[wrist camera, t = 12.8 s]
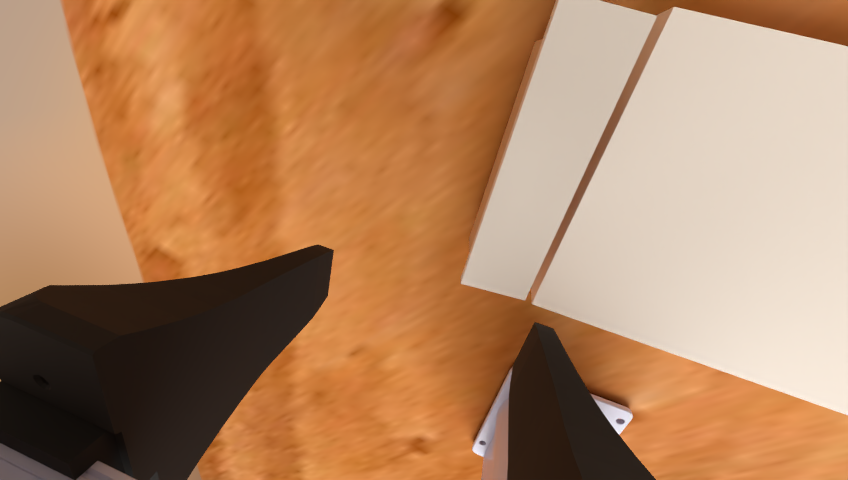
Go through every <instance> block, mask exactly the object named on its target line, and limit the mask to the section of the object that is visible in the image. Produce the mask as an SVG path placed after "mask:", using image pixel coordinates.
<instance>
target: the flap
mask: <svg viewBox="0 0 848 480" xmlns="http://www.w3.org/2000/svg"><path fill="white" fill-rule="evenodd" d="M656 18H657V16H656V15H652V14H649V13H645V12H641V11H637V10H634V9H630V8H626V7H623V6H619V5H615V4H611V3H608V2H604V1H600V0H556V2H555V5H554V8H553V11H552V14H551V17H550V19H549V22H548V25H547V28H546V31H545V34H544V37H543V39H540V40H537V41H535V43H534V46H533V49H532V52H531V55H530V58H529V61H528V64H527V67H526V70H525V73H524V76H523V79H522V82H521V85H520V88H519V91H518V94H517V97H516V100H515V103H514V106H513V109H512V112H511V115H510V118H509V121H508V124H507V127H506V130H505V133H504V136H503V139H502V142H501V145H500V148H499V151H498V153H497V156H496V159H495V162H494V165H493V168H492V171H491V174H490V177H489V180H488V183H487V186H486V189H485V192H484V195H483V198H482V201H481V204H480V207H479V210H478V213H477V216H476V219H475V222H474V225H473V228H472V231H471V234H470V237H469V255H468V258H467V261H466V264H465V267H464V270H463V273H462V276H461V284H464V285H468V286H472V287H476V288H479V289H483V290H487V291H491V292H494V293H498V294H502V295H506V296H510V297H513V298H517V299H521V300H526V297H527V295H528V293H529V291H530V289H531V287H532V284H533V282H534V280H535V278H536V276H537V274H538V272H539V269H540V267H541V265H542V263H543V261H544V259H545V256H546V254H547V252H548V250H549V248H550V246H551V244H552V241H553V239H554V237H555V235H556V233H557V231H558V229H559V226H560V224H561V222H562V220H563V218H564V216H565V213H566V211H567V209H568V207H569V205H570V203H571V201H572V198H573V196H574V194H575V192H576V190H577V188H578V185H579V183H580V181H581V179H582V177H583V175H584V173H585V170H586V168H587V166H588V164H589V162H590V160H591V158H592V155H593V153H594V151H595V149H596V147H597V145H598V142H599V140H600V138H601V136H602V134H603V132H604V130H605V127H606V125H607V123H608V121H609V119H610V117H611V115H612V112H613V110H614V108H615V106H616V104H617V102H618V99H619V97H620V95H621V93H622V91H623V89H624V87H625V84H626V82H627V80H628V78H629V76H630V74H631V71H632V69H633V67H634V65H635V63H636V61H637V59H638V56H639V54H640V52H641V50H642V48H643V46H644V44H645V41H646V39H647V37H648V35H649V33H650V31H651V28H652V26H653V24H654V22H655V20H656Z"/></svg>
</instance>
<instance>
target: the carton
mask: <svg viewBox="0 0 848 480" xmlns="http://www.w3.org/2000/svg"><path fill="white" fill-rule="evenodd" d="M656 16H657V18H656V20H655V22H654V24H653V26H652V28H651V31H650V33H649V35H648V37H647V39H646V41H645V44H644V46H643V48H642V50H641V52H640V54H639V56H638V59H637V61H636V63H635V65H634V67H633V69H632V71H631V74H630V76H629V78H628V80H627V82H626V84H625V87H624V89H623V91H622V93H621V95H620V97H619V99H618V102H617V104H616V106H615V108H614V110H613V112H612V115H611V117H610V119H609V121H608V123H607V125H606V127H605V130H604V132H603V134H602V136H601V138H600V140H599V142H598V145H597V147H596V149H595V151H594V153H593V155H592V158H591V160H590V162H589V164H588V166H587V168H586V170H585V173H584V175H583V177H582V179H581V181H580V183H579V185H578V188H577V190H576V192H575V194H574V196H573V198H572V201H571V203H570V205H569V207H568V209H567V211H566V213H565V216H564V218H563V220H562V222H561V224H560V226H559V229H558V231H557V233H556V235H555V237H554V239H553V241H552V244H551V246H550V248H549V250H548V252H547V254H546V256H545V259H544V261H543V263H542V265H541V267H540V269H539V272H538V274H537V276H536V278H535V280H534V282H533V284H532V287H531V299H532V304H533V305H536V306H538V307H541V308H544V309H547V310H550V311H553V312H555V313H558V314H561V315H564V316H567V317H570V318H573V319H575V320H578V321H581V322H584V323H587V324H590V325H592V326H595V327H598V328H601V329H604V330H607V331H609V332H612V333H615V334H618V335H621V336H624V337H627V338H629V339H632V340H635V341H638V342H641V343H644V344H646V345H649V346H652V347H655V348H658V349H661V350H664V351H666V352H669V353H672V354H675V355H678V356H681V357H683V358H686V359H689V360H692V361H695V362H698V363H701V364H703V365H706V366H709V367H712V368H715V369H718V370H720V371H723V372H726V373H729V374H732V375H735V376H738V377H740V378H743V379H746V380H749V381H752V382H755V383H757V384H760V385H763V386H766V387H769V388H772V389H775V390H777V391H780V392H783V393H786V394H789V395H792V396H794V397H797V398H800V399H803V400H806V401H809V402H812V403H814V404H817V405H820V406H823V407H826V408H829V409H831V410H834V411H837V412H840V413H843V414H846V415H848V46H844V45H840V44H836V43H831V42H827V41H822V40H818V39H814V38H809V37H805V36H800V35H796V34H792V33H787V32H783V31H779V30H774V29H770V28H765V27H761V26H757V25H752V24H748V23H744V22H739V21H735V20H730V19H726V18H722V17H717V16H713V15H708V14H704V13H700V12H695V11H691V10H687V9H682V8H678V7H672V8H670V9H668V10H666V11H664V12H662V13H660V14H658V15H656Z"/></svg>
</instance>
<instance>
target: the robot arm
mask: <svg viewBox="0 0 848 480" xmlns="http://www.w3.org/2000/svg"><path fill="white" fill-rule="evenodd" d="M333 251H334V250H332V249H329V248H326V247H323V246H321V245H314V246H311V247H307V248H304V249H301V250H298V251H294V252H291V253H288V254H285V255H282V256H279V257H275V258H272V259H269V260H266V261H262V262H259V263H255V264H251V265H247V266H244V267H240V268H236V269H232V270H228V271H223V272H219V273H214V274H208V275H203V276H197V277H191V278H183V279H175V280H167V281H159V282H148V283H136V284H119V285H69V286H68V285H65V286H64V285H63V286H62V285H49V286H47V287H44V288H42V289H40V290H37V291H35V292H33V293H31V294H29V295H26V296H24V297H22V298H20V299H17V300H15V301H13V302H10V303H8V304H6V305H4V306H1V307H0V379H1V382H0V480H187V479H188V477H189V475H190V474H191V472H192V471H193V469H194V468H195V466H196V465H197V463H198V462H199V460H200V459H201V457H202V456H203V454H204V453H205V451H206V450H207V448H208V447H209V446H210V444H211V443H212V441H213V440H214V438H215V437H216V435H217V434H218V432H219V431H220V429H221V428H222V427H223V425H224V424H225V422H226V421H227V420H228V418H229V417H230V415H231V414H232V413H233V411H234V410H235V409H236V407H237V406H238V404H239V403H240V402H241V400H242V399H243V398H244V396H245V395H246V394H247V392H248V391H249V390H250V388H251V387H252V386H253V384H254V383H255V382H256V380H257V379H258V378H259V376H260V375H261V374H262V373H263V372H264V370H265V369H266V368H267V367H268V366H269V365H270V363H271V362H272V361H273V360H274V359H275V358H276V357H277V356H278V355H279V354H280V353H281V352H282V351H283V350H284V348H285V347H286V346H287V345H288V344H289V343H290V342H291V341H292V340H293V339H294V338H295V337H296V336H297V334H298V333H299V332H300V331H301V330H302V329H303V328H304V327H305V326H306V325H307V324H308V322H309V321H310V320H311V319H312V318H313V316H314V315H315V314H316V312H317V311H318V310H319V308H320V307H321V305H322V304H323V302H324V301H325V299H326V298H327V296H328V289H329V282H330V274H331V267H332V259H333ZM632 418H633V415H632V412H631V410H630V409H629V408H627V407H625V406H622V405H620V404H617V403H614V402H612V401H609V400H606V399H604V398H601V397H598V396H596V395H593V394H590V392H589V391H588V389H587V388H586V386H585V384H584V383H583V381H582V379H581V378H580V376H579V374H578V373H577V371H576V369H575V367H574V366H573V364H572V362H571V360H570V358H569V356H568V355H567V353H566V351H565V349H564V347H563V345H562V344H561V342H560V340H559V338H558V336H557V334H556V332H555V331H554V329H553V328H550V327H547V326H544V325H541V324H539V323H536V322H535V323H534V325H533V327H532V329H531V331H530V333H529V335H528V337H527V339H526V341H525V343H524V345H523V347H522V349H521V351H520V353H519V355H518V357H517V359H516V361H515V363H514V365H513V367H512V368H511V369H510V371H509V373H508V375H507V377H506V379H505V381H504V383H503V385H502V387H501V389H500V391H499V393H498V395H497V397H496V399H495V401H494V403H493V405H492V407H491V409H490V411H489V413H488V415H487V417H486V419H485V421H484V423H483V425H482V427H481V429H480V431H479V433H478V435H477V437H476V439H475V441H474V443H473V447H472V450H473V452H474V453H476V454H478V455H480V456H483V457H484V460H483V469H482V478H481V480H656V479H655V478H654V477H653V476H652V475H651V473H650V472H649V471H648V470H647V469H646V468H645V466H644V465H643V464H642V463H641V462H640V461H639V460H638V458H637V457H636V456H635V455H634V453H633V452H632V451H631V450H630V449H629V447H628V446H627V445H626V443H625V442H624V441H623V439H622V438H621V437H620V436H619V434H620V433H621V432H622V431H623V430H624V428H625V427H626V426H627V425H628V423H629V422H630V421H631V420H632Z"/></svg>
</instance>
